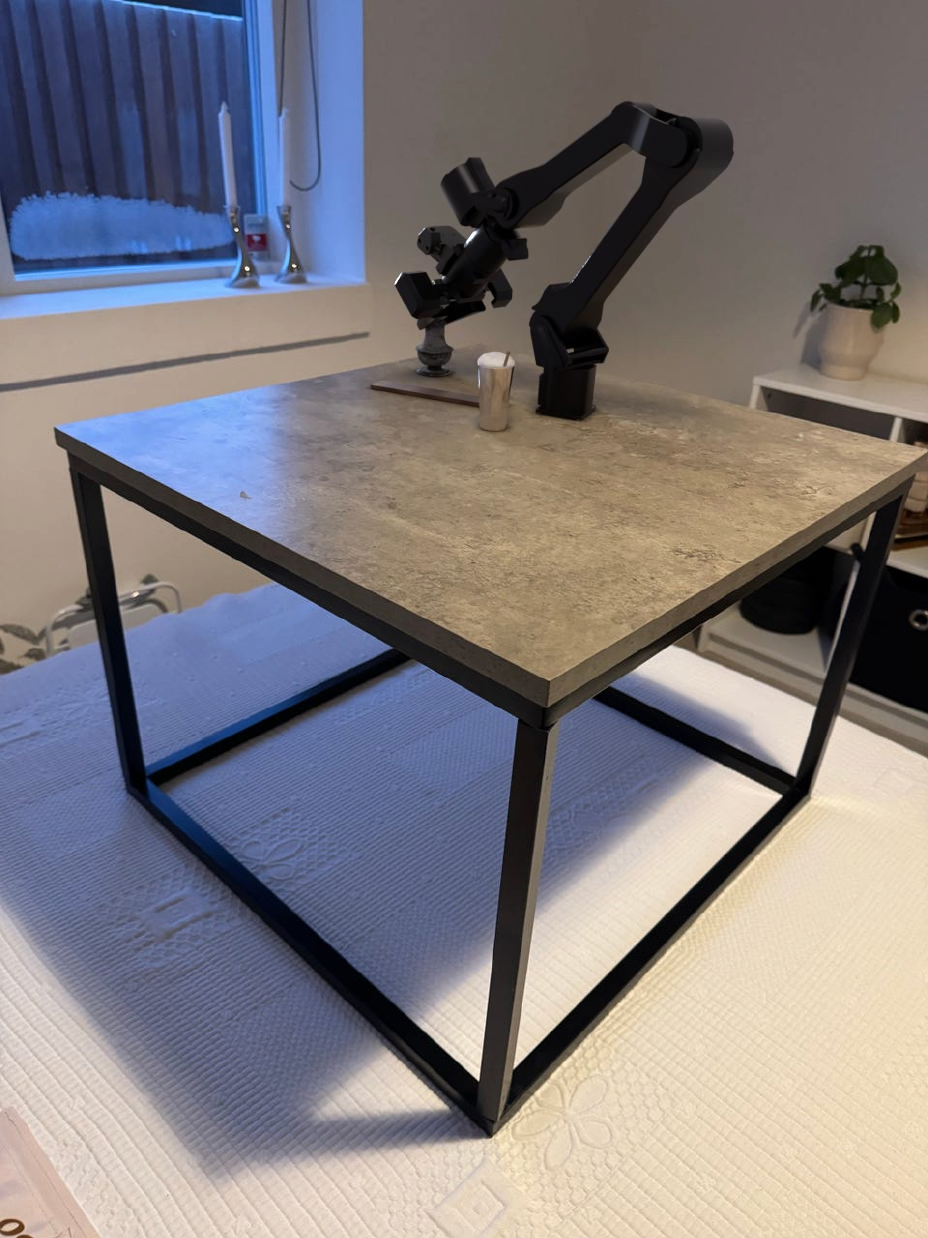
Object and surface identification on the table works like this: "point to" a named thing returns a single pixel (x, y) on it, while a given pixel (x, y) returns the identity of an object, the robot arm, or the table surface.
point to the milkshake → (494, 389)
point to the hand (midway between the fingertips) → (428, 325)
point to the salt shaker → (434, 351)
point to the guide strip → (426, 392)
